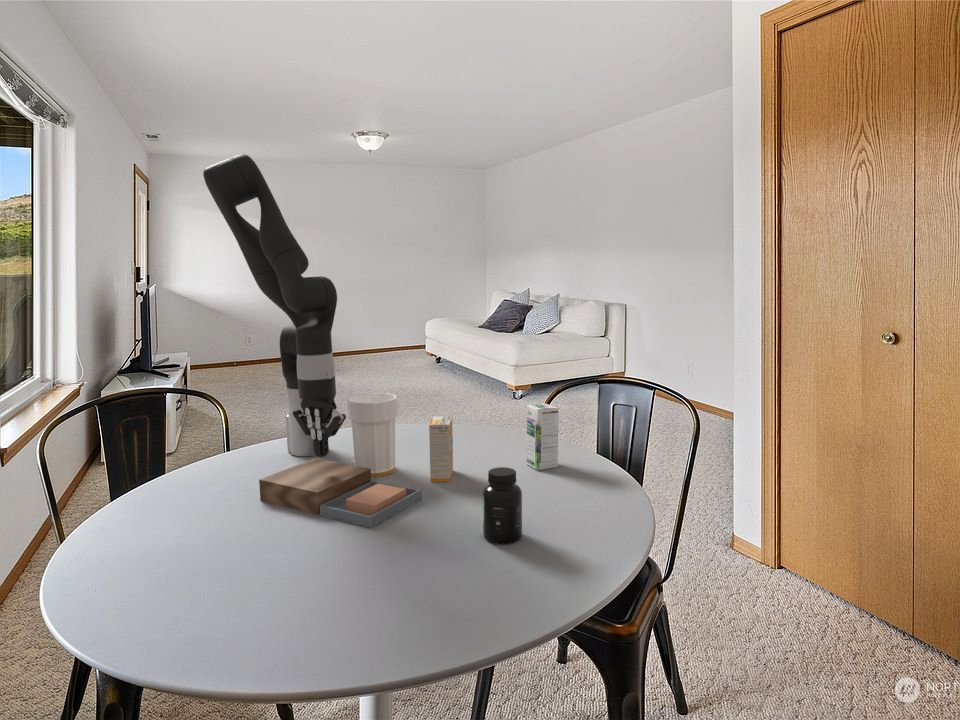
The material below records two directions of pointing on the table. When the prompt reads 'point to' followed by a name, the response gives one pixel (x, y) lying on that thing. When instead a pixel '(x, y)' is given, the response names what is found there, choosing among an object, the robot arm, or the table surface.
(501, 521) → the supplement bottle
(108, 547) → the table surface
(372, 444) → the cup
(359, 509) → the terracotta tile
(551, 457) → the syrup box
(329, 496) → the walnut platform
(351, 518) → the slate tray
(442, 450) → the supplement box
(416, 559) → the table surface
